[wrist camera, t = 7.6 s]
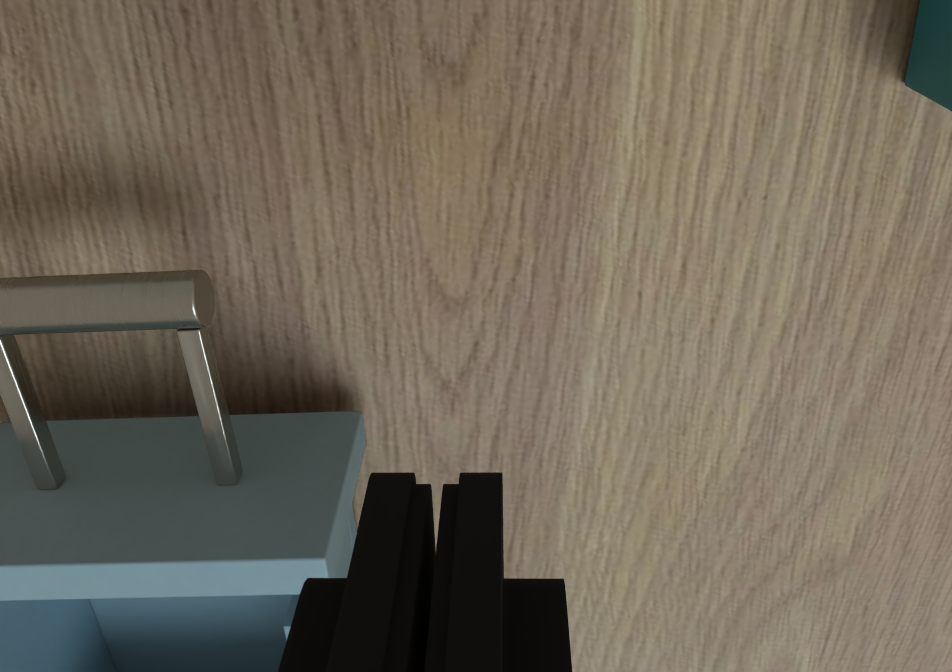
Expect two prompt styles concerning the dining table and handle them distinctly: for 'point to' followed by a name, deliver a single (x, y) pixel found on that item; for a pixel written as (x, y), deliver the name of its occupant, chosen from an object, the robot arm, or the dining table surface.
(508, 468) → the dining table surface
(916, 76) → the teal block
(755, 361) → the dining table surface
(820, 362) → the dining table surface
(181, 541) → the drawer
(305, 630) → the robot arm
